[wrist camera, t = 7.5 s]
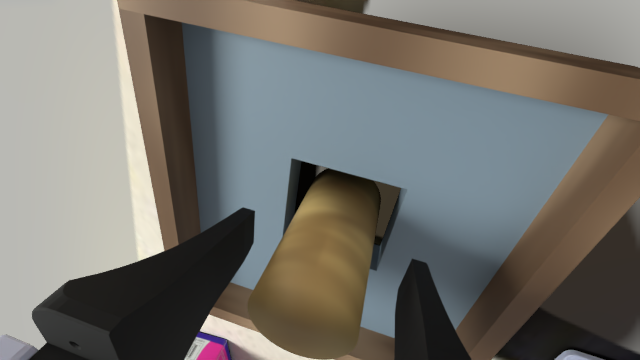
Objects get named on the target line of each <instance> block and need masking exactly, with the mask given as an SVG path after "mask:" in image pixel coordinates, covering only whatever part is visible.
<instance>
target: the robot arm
mask: <svg viewBox="0 0 640 360" xmlns="http://www.w3.org/2000/svg"><path fill="white" fill-rule="evenodd" d="M254 225H255V211H254V210H251V209H247V208H244V207H242V208H241V209H239V210H237V211H236V212H234V213H233V214H231V215H229V216H228V217H226V218H225V219H223V220H221V221H220V222H218V223H217V224H215V225H213V226H212V227H210V228H208V229H207V230H205V231H203V232H202V233H200V234H198V235H196V236H194V237H192V238H191V239H189V240H187V241H185V242H183V243H181V244H179V245H177V246H175V247H173V248H171V249H168V250H166V251H164V252H161V253H159V254H157V255H154V256H151V257H149V258H146V259H143V260H141V261H138V262H135V263H132V264H129V265H126V266H123V267H120V268H117V269H113V270H110V271H106V272H103V273H99V274H95V275H91V276H86V277H82V278H78V279H74V280H69V281H68V282H66V283H65V284H64V285H63V286H61V287H60V288H59V289H58V290H56V291H55V292H54V293H53V294H51V295H50V296H49V297H48V298H47V299H45V300H44V301H43V302H42V303H41V304H39V305H38V306H37V307H36V308H35V309H34V310H33V311H32V319H33V321H34V323H35V324H36V326H37V328H38V329H39V331H40V332H41V334H42V335H43V337H44V338H45V340H46V341H47V343H46V344H45V345H44V346H43V347H42V348H41V349H40V350H37V349H36V348H35V347H34V346H32V345H30V344H28V343H25V342H23V341H21V340H18V339H16V338H14V337H11V336H8V335H2V336H1V337H0V360H184V359H185V357H186V355H187V353H188V351H189V350H190V348H191V346H192V344H193V342H194V340H195V338H196V336H197V335H198V333H199V331H200V329H201V327H202V325H203V324H204V322H205V320H206V318H207V316H208V315H209V313H210V311H211V309H212V308H213V306H214V305H215V303H216V302H217V300H218V299H219V297H220V296H221V294H222V293H223V291H224V290H225V289H226V287H227V286H228V284H229V283H230V281H231V280H232V279H233V277H234V276H235V274H236V273H237V271H238V270H239V268H240V267H241V265H242V264H243V262H244V261H245V259H246V257H247V255H248V253H249V251H250V249H251V247H252V245H253V243H254ZM394 360H472V359H471V357H470V356H469V354H468V352H467V351H466V349H465V347H464V345H463V344H462V342H461V340H460V338H459V336H458V334H457V332H456V330H455V328H454V326H453V324H452V322H451V320H450V318H449V316H448V314H447V312H446V310H445V307H444V305H443V303H442V301H441V298H440V296H439V293H438V291H437V288H436V286H435V283H434V281H433V278H432V275H431V272H430V269H429V267H428V264H427V263H426V262H422V261H419V260H416V259H412V260H411V262H410V264H409V266H408V268H407V271H406V273H405V275H404V277H403V279H402V281H401V284H400V286H399V288H398V293H397V300H396V308H395V349H394ZM555 360H604V359H601V358H598V357H595V356H592V355H589V354H585V353H582V352H579V351H576V350H566V351H564V352H563V353H561V354H560V355H559V356H558V357H557V358H556V359H555Z"/></svg>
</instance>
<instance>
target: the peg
mask: <svg viewBox="0 0 640 360" xmlns="http://www.w3.org/2000/svg"><path fill="white" fill-rule="evenodd" d="M380 200H381V197H380V192H379V189H378V187H377V186H376V184H375V182H374V181H373V180H370V179H367V178H363V177H359V176H356V175H352V174H348V173H345V172H341V171H337V170H334V169H330V168H328V169H326V170H324V171H322V172H321V173H319V174H318V175H317V176H316V178H315V179H314V181H313V182H312V184H311V186H310V188H309V190H308V192H307V193H306V195H305V197H304V199H303V201H302V202H301V204H300V206H299V208H298V210H297V212H296V213H295V215H294V217H293V219H292V221H291V223H290V224H289V226H288V228H287V230H286V232H285V233H284V235H283V237H282V239H281V241H280V243H279V244H278V246H277V248H276V250H275V252H274V253H273V255H272V257H271V259H270V261H269V263H268V264H267V266H266V268H265V270H264V272H263V274H262V275H261V277H260V279H259V281H258V283H257V284H256V286H255V288H254V290H253V292H252V294H251V295H250V297H249V300H248V305H247V308H248V314H249V316H250V319H251V321H252V322H253V324H254V325H255V327H256V328H257V329H258V330H259V332H260V333H261V334H262V335H264V336H265V337H266V338H267V339H268V340H270V341H271V342H272V343H274V344H275V345H277V346H279V347H281V348H282V349H284V350H286V351H289V352H291V353H294V354H296V355H299V356H303V357H307V358H312V359H335V358H340V357H343V356H345V355H347V354H349V353H350V352H351V351H352V350H353V349H354V348H355V346H356V345H357V342H358V337H359V331H360V325H361V319H362V313H363V307H364V301H365V295H366V289H367V282H368V276H369V270H370V264H371V258H372V252H373V246H374V240H375V234H376V227H377V221H378V215H379V209H380V202H381V201H380Z"/></svg>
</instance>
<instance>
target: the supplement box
mask: <svg viewBox="0 0 640 360" xmlns="http://www.w3.org/2000/svg"><path fill="white" fill-rule="evenodd" d="M184 360H231V357H230V353H229V348H228V343H227V340H226V339H223V338H219V337H215V336H211V335H208V334H204V333H201V332H199V333H198V335H197V336H196V338H195V340H194V342H193V344H192V346H191V348H190V350H189V351H188V353H187V355H186V357H185V359H184Z"/></svg>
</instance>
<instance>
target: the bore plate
mask: <svg viewBox="0 0 640 360" xmlns="http://www.w3.org/2000/svg"><path fill="white" fill-rule="evenodd" d="M182 32H183V43H184V54H185V65H186V76H187V87H188V98H189V109H190V120H191V131H192V142H193V153H194V164H195V175H196V186H197V197H198V208H199V219H200V230H201V233H202V232H203V231H205V230H207V229H208V228H210V227H212V226H213V225H215V224H217V223H218V222H220V221H221V220H223V219H225V218H226V217H228V216H229V215H231V214H233V213H234V212H236V211H237V210H239V209H241V208H242V207H244V208H247V209H251V210H254V211H255V225H254V243H253V245H252V247H251V249H250V251H249V253H248V255H247V257H246V259H245V261H244V262H243V264H242V265H241V267H240V268H239V270H238V271H237V273H236V274H235V276H234V277H233V279H232V280H231V281H230V282H231V283H234V284H237V285H240V286H243V287H246V288H249V289H252V290H254V288H255V286H256V284H257V283H258V281H259V279H260V277H261V275H262V274H263V272H264V270H265V268H266V266H267V264H268V263H269V261H270V259H271V257H272V255H273V253H274V252H275V250H276V248H277V246H278V244H279V243H280V241H281V239H282V237H283V235H284V233H285V232H286V230H287V228H288V226H289V224H290V223H291V221H292V219H293V217H294V214H295V206H296V199H297V191H298V184H299V177H300V169H301V162H302V161H304V162H308V163H311V164H315V165H319V166H323V167H326V168H330V169H334V170H337V171H341V172H345V173H348V174H352V175H356V176H359V177H363V178H367V179H370V180H374V181H378V182H382V183H385V184H389V185H393V186H397V187H400V188H401V190H400V193H399V196H398V199H397V201H396V204H395V207H394V209H393V212H392V215H391V218H390V220H389V223H388V226H387V229H386V231H385V234H384V237H383V239H382V242H381V245H380V246H379V245H375V244H374V246H373V252H372V258H371V264H370V270H369V276H368V282H367V289H366V295H365V301H364V307H363V313H362V319H361V325H360V327H363V328H366V329H369V330H372V331H375V332H378V333H381V334H384V335H387V336H390V337H393V338H395V308H396V300H397V293H398V288H399V286H400V284H401V281H402V279H403V277H404V275H405V273H406V271H407V268H408V266H409V264H410V262H411V260H412V259H416V260H419V261H422V262H426V263H427V264H428V267H429V269H430V272H431V275H432V278H433V281H434V283H435V286H436V288H437V291H438V293H439V296H440V298H441V301H442V303H443V305H444V307H445V310H446V312H447V314H448V316H449V318H450V320H451V322H452V324H453V326H454V328H455V330H456V328H457V327H458V326H459V324H460V323H461V321H462V320H463V319H464V317H465V316H466V314H467V313H468V312H469V310H470V309H471V307H472V306H473V305H474V303H475V302H476V300H477V299H478V297H479V296H480V295H481V293H482V292H483V290H484V289H485V288H486V286H487V285H488V283H489V282H490V281H491V279H492V278H493V276H494V275H495V274H496V272H497V271H498V269H499V268H500V267H501V265H502V264H503V262H504V261H505V259H506V258H507V257H508V255H509V254H510V252H511V251H512V250H513V248H514V247H515V245H516V244H517V243H518V241H519V240H520V238H521V237H522V236H523V234H524V233H525V231H526V230H527V229H528V227H529V226H530V224H531V223H532V221H533V220H534V219H535V217H536V216H537V214H538V213H539V212H540V210H541V209H542V207H543V206H544V205H545V203H546V202H547V200H548V199H549V198H550V196H551V195H552V193H553V192H554V191H555V189H556V188H557V186H558V185H559V183H560V182H561V181H562V179H563V178H564V176H565V175H566V174H567V172H568V171H569V169H570V168H571V167H572V165H573V164H574V162H575V161H576V160H577V158H578V157H579V155H580V154H581V153H582V151H583V150H584V148H585V147H586V145H587V144H588V143H589V141H590V140H591V138H592V137H593V136H594V134H595V133H596V131H597V130H598V129H599V127H600V126H601V124H602V123H603V122H604V120H605V119H606V117H607V116H608V115H609V114H604V113H599V112H595V111H590V110H585V109H581V108H576V107H572V106H567V105H562V104H558V103H553V102H548V101H544V100H539V99H535V98H530V97H525V96H521V95H516V94H511V93H507V92H502V91H498V90H493V89H488V88H484V87H479V86H474V85H470V84H465V83H461V82H456V81H451V80H447V79H442V78H437V77H433V76H428V75H424V74H419V73H414V72H410V71H405V70H400V69H396V68H391V67H387V66H382V65H377V64H373V63H368V62H363V61H359V60H354V59H350V58H345V57H340V56H336V55H331V54H326V53H322V52H317V51H313V50H308V49H303V48H299V47H294V46H289V45H285V44H280V43H275V42H271V41H266V40H262V39H257V38H252V37H248V36H243V35H238V34H234V33H229V32H225V31H220V30H215V29H211V28H206V27H201V26H197V25H192V24H188V23H183V22H182Z"/></svg>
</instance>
